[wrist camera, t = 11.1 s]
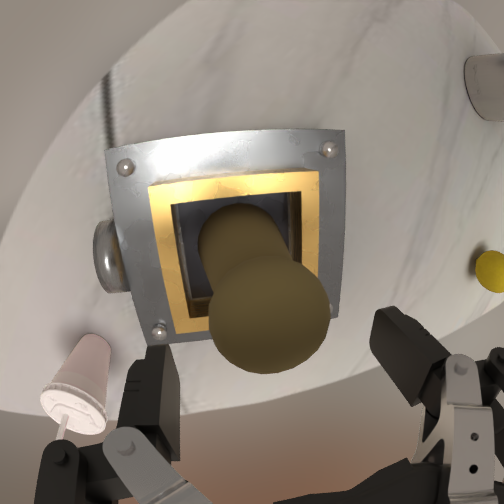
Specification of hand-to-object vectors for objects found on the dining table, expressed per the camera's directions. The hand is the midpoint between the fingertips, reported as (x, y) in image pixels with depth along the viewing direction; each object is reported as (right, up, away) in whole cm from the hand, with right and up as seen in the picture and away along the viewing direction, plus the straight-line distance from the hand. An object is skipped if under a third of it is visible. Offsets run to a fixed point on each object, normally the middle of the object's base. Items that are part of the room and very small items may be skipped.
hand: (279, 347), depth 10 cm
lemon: (+32, +2, +22) cm, 39 cm away
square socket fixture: (-3, +5, +14) cm, 15 cm away
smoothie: (-18, -7, +16) cm, 25 cm away
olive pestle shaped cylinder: (-2, +4, +11) cm, 11 cm away
